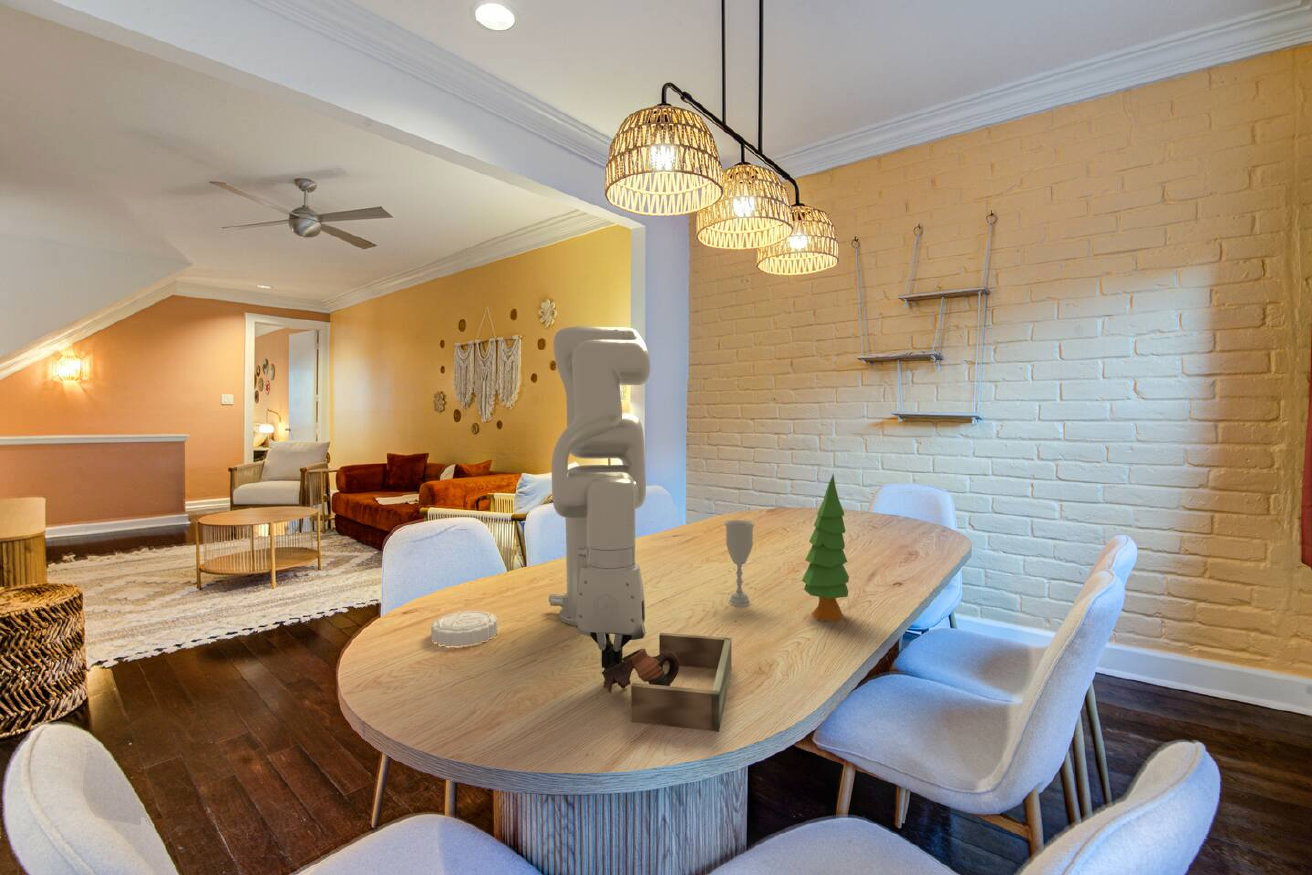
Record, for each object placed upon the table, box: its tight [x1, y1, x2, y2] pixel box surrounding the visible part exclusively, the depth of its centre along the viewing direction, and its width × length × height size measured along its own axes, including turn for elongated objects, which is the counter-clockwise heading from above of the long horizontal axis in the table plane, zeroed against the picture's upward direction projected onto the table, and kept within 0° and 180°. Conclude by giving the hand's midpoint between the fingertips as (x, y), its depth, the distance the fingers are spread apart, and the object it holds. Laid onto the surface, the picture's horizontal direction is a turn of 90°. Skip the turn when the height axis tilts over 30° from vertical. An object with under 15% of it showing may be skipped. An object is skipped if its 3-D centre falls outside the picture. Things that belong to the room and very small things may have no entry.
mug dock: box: [630, 632, 732, 732], centre depth 88 cm, size 12×20×5 cm, turn 168°
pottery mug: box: [601, 648, 680, 693], centre depth 87 cm, size 12×10×8 cm
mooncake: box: [430, 609, 498, 646], centre depth 111 cm, size 12×12×4 cm
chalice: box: [723, 519, 756, 608], centre depth 130 cm, size 7×7×18 cm
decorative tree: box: [801, 473, 850, 622], centre depth 121 cm, size 10×9×30 cm
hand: (612, 672), depth 92 cm, fingers closed
